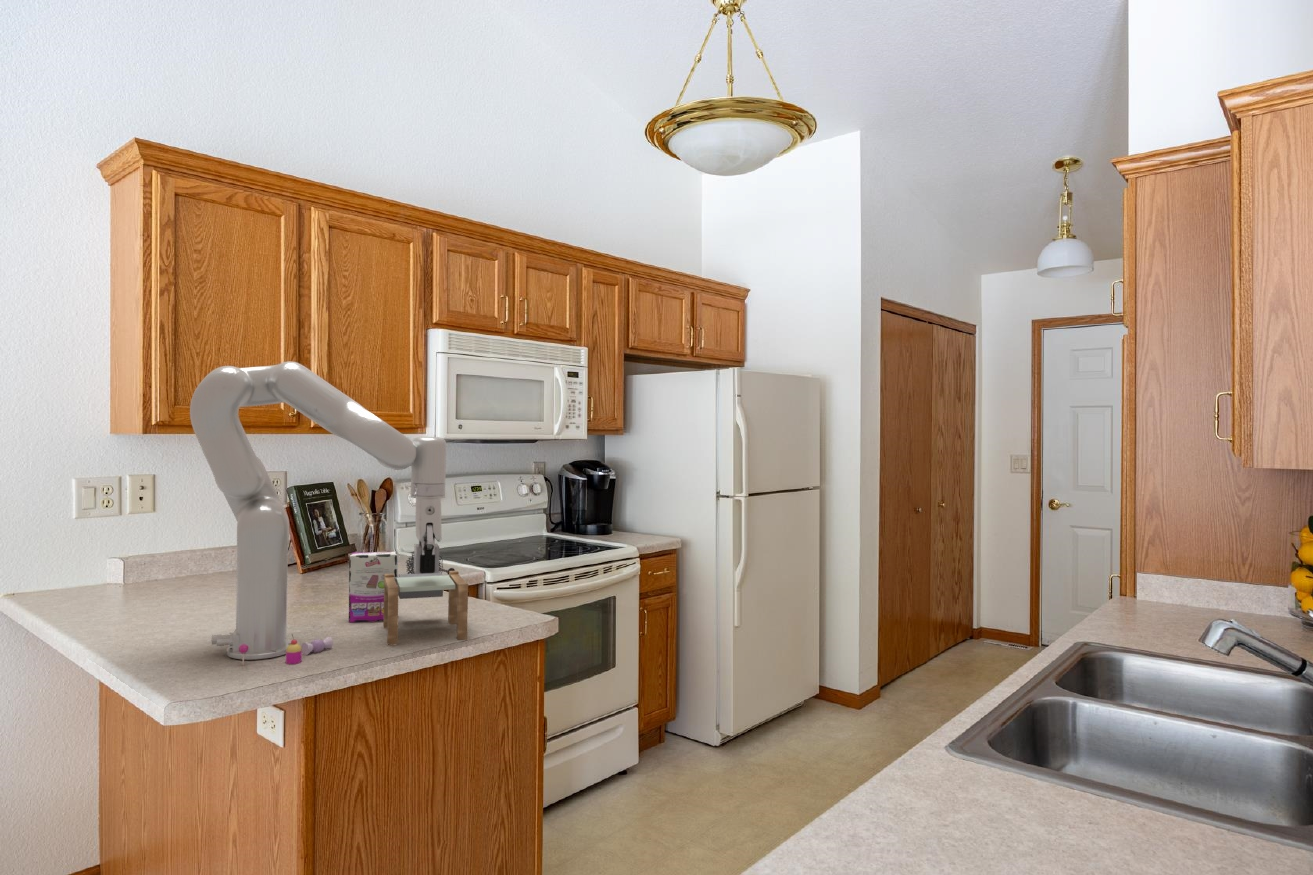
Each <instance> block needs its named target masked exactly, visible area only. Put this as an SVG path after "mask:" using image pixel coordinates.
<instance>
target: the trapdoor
mask: <svg viewBox="0 0 1313 875" xmlns="http://www.w3.org/2000/svg"><path fill="white" fill-rule="evenodd" d="M441 572H442V571H441ZM441 572H440V571H439V573H432V574H411V573H410V574H408V573H402V574H401V573H400V574H398V577H395V582H396V583H397V585H398V588H399V591H398V599H399V600H406V599H407V600H408V599H421V598H422V599H424V598H427V599H428V598H443V597H444V590H445V591H446V590H448V591H449V589H455V584H454V582H453V581H452V579H451V578H450V575H448V574H442V573H441Z"/></svg>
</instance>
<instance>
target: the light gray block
mask: <svg viewBox="0 0 1313 875" xmlns="http://www.w3.org/2000/svg"><path fill="white" fill-rule="evenodd" d="M425 545H427V544H424V546H425ZM413 551H414V552H413V555H414V556H413V557H414V568H413V569H414V572H415V574H432V573H420V555H422V544H419V543H414V548H413ZM439 556H440V546H439V544H438V543H435V572H434V573H439V572H440V571H439V567H440V566H439V561H440V560H439V559H440V557H439Z"/></svg>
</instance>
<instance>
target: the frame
mask: <svg viewBox="0 0 1313 875" xmlns="http://www.w3.org/2000/svg"><path fill="white" fill-rule="evenodd" d="M449 575H450V578H451V579H452V581H453V582H454V584H455V589H448V602H447V603H448V604H447V605H448V607H447V608H448V609H447V612H448V614H447V622H448V624H449V625H450V624H451V625H452V624H456V638H457V641H458V640H459V641H461V640H467V639H468V613H469V612H468V610H469V606H468V605H469V583H468V582H465V581H464V579H463V578H462V576H461V575H460V574H459V571H458V570H455V571H449ZM398 591H399V588H398V586H397V584H396V582H395V579H394V574H384V621H383V623H382V624H383V629H387V634H386V635H387V640H386V641H387V642H386V643H387V646H395V645H398V633H399V632H398V631H399V630H398V629H399V628H398V627H399V596H398Z"/></svg>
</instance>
